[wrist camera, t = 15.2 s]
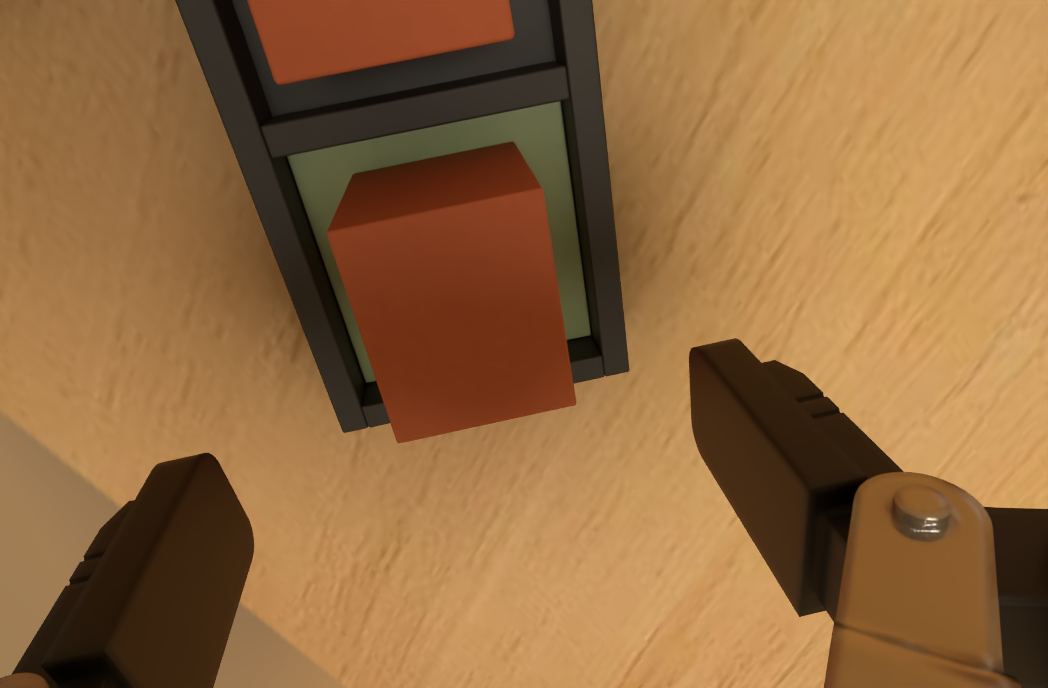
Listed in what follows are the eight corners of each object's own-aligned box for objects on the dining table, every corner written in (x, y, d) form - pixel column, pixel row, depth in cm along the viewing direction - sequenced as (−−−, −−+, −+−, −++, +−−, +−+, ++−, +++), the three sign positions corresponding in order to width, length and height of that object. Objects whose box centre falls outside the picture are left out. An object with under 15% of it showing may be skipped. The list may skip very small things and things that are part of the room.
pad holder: (350, 396, 21) (342, 434, 19) (91, -305, 13) (35, -356, 11) (613, 340, 22) (630, 372, 20) (531, -382, 13) (548, -444, 11)
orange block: (404, 347, 20) (397, 444, 15) (351, 173, 17) (324, 232, 13) (544, 317, 20) (576, 405, 16) (514, 140, 17) (543, 187, 13)
